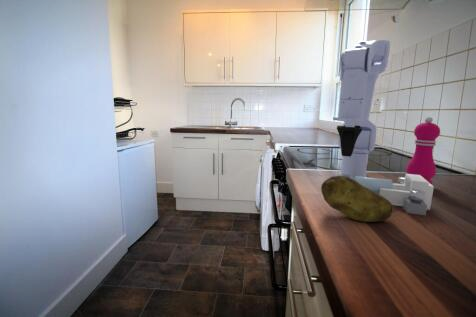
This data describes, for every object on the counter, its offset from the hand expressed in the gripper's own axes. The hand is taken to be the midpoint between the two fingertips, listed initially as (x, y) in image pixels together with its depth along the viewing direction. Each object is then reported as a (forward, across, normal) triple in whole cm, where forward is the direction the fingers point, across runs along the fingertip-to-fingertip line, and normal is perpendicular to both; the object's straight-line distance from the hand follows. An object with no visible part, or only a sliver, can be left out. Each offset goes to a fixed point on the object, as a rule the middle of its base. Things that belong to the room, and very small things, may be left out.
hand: (346, 153), depth 66 cm
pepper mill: (+10, -17, +21) cm, 29 cm away
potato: (+10, +17, +2) cm, 20 cm away
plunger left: (+10, -4, +14) cm, 18 cm away
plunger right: (+10, +8, +15) cm, 19 cm away
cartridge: (+10, +2, +5) cm, 11 cm away
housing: (+10, +2, +12) cm, 16 cm away
